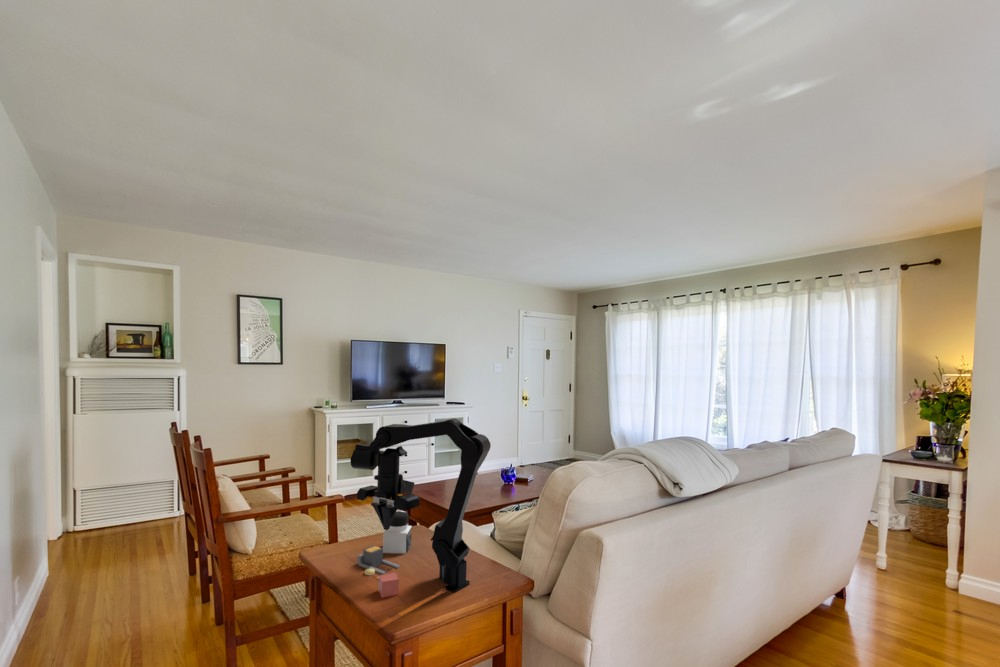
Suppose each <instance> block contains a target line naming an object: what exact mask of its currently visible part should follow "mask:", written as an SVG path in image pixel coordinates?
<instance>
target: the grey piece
mask: <svg viewBox="0 0 1000 667" xmlns="http://www.w3.org/2000/svg"><path fill="white" fill-rule="evenodd" d="M383 564H384V565H386V566H384V565H383ZM357 565H358V566H359V567H362V568H364V569H365V570H364V575H365V576H374V575H375V573H378V574H379V575H384V574H387V573H388V572H390V571H392V570H393V568H396V569H399V568H400V567H401V565H400V564H397V563H394V562H391V561H388V560H386V559H383V563H382V564H381V565H378V566H376V567H372V566H369V565H366V564H364V563H363V553H360V554H358V555H357ZM387 566H390V567H393V568H389V567H387ZM379 575H378V576H376V579H378V580H379Z"/></svg>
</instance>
